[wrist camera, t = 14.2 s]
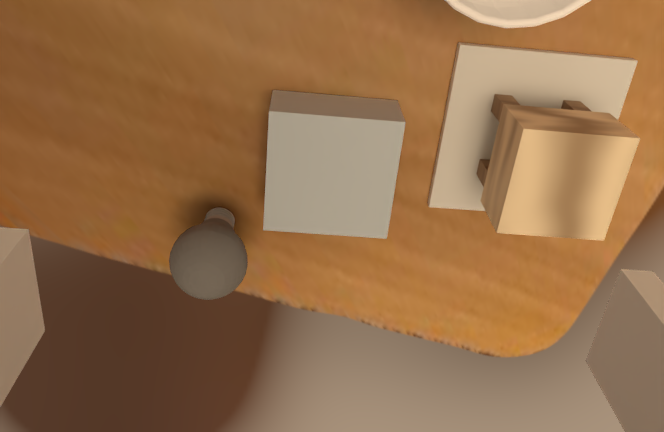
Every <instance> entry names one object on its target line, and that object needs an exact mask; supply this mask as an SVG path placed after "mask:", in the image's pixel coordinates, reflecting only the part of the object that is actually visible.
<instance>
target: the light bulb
mask: <svg viewBox="0 0 664 432" xmlns="http://www.w3.org/2000/svg"><path fill="white" fill-rule="evenodd" d="M234 224H235V218H234V216H233V214H232V213H231V212H230V211H229V210H227V209H225V208H214V209H212V210H210V211H209V212H208V213H207V214H206V217H205V220H204V222H202V223H201V224H199V225H196V226H193V227H191V228H189V229H187V230H186V231H185V232H184V233H183V234H182V235H180V236H179V238H178V239H177V240H176V242H175V243H174V245H173V248H172V250H171V253H170V259H169V263H170V270H171V273H172V276H173V278H174V280H175V282H176V283H177V285H178V286H179V287H180V288H181V289H182V290H183V291H184V292H186V293H187V294H189V295H191V296H193V297H196V298H199V299H207V300H208V299H209V300H210V299H217V298H220V297H224V296H225V295H227V294H229V293H231V292H232V291H233V290H235V289H236V288H237V287H238V286H239V284H240V283H241V282H242V280H243V278H244V276H245V274H246V270H247V253H246V249H245V246H244V244H243V242H242V240H241V239H240V238H239V236H238V235H237V234H235V231H234V229H233V228H234Z"/></svg>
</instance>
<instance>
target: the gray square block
mask: <svg viewBox="0 0 664 432" xmlns="http://www.w3.org/2000/svg"><path fill="white" fill-rule="evenodd" d="M404 129H405V120H404V117H403V114H402V111H401V109H400V106H399V103H398V100H388V99H376V98H364V97H352V96H340V95H328V94H316V93H305V92H293V91H281V90H273V92H272V98H271V103H270V108H269V121H268V142H267V162H266V183H265V203H264V224H263V230H268V231H283V232H297V233H312V234H326V235H341V236H355V237H370V238H384V239H387V234H388V228H389V222H390V216H391V209H392V203H393V197H394V191H395V185H396V178H397V172H398V166H399V160H400V153H401V147H402V141H403V135H404Z"/></svg>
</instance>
